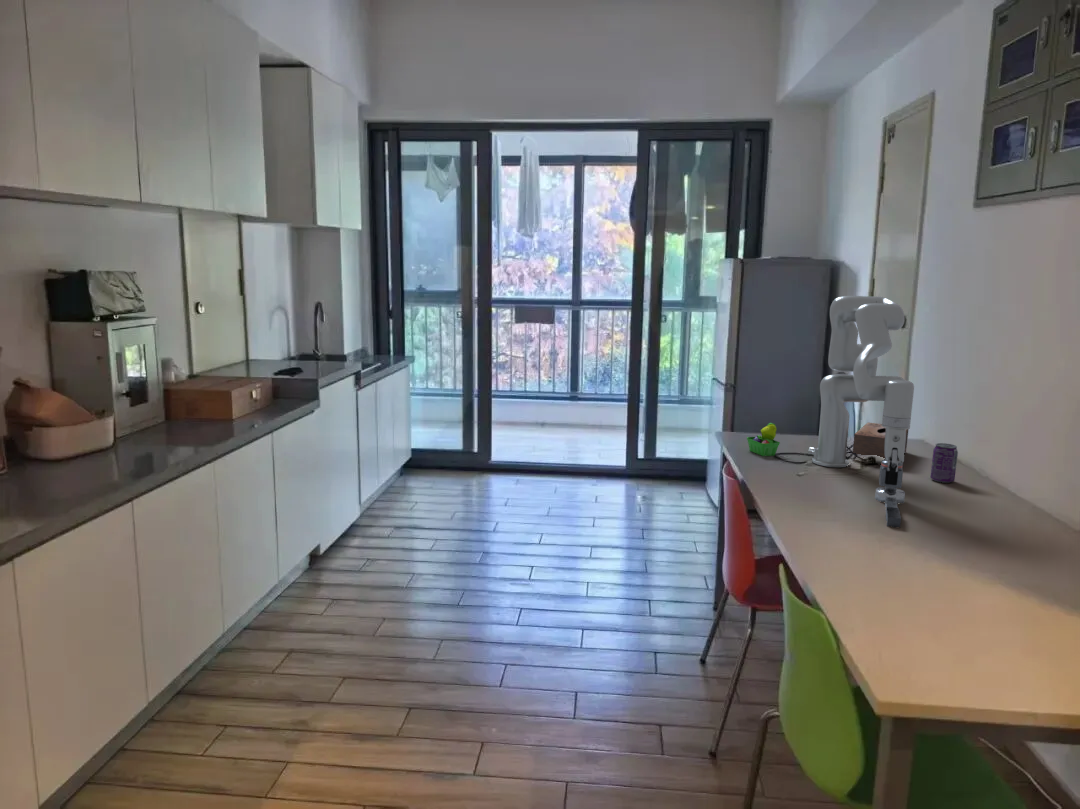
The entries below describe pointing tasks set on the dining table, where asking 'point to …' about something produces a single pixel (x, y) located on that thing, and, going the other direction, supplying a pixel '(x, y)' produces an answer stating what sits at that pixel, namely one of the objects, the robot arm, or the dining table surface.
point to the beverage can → (944, 463)
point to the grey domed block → (883, 474)
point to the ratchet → (891, 503)
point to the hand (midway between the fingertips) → (890, 481)
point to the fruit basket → (764, 441)
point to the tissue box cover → (871, 440)
